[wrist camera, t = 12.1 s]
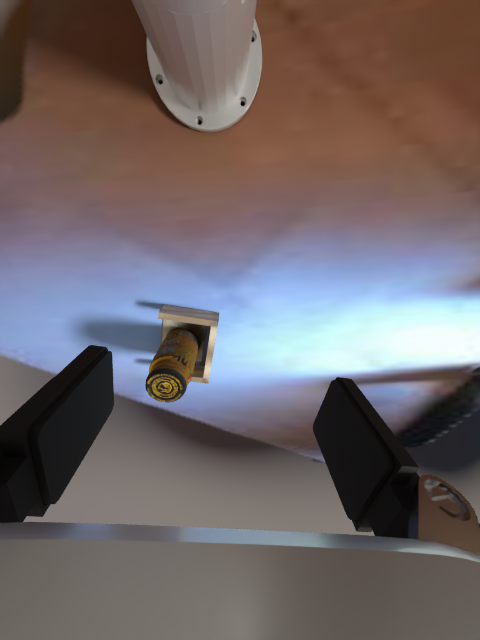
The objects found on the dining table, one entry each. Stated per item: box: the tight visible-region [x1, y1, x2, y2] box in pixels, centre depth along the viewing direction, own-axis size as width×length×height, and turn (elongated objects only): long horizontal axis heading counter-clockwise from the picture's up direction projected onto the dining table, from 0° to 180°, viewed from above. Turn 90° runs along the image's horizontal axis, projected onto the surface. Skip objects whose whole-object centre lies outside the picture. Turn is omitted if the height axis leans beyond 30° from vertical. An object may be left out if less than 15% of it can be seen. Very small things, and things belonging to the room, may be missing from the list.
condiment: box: [146, 319, 207, 402], centre depth 35 cm, size 7×8×12 cm
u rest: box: [158, 304, 219, 383], centre depth 39 cm, size 12×9×4 cm
